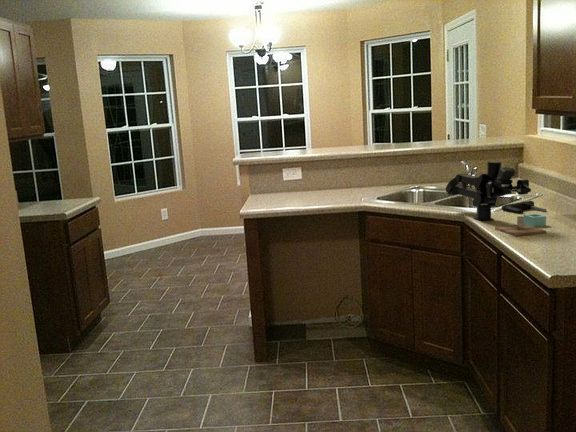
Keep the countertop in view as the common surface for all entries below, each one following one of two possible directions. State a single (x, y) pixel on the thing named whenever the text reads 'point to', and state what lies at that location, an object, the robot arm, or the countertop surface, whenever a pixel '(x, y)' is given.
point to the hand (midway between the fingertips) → (520, 191)
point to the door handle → (522, 207)
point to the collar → (534, 220)
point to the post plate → (520, 229)
